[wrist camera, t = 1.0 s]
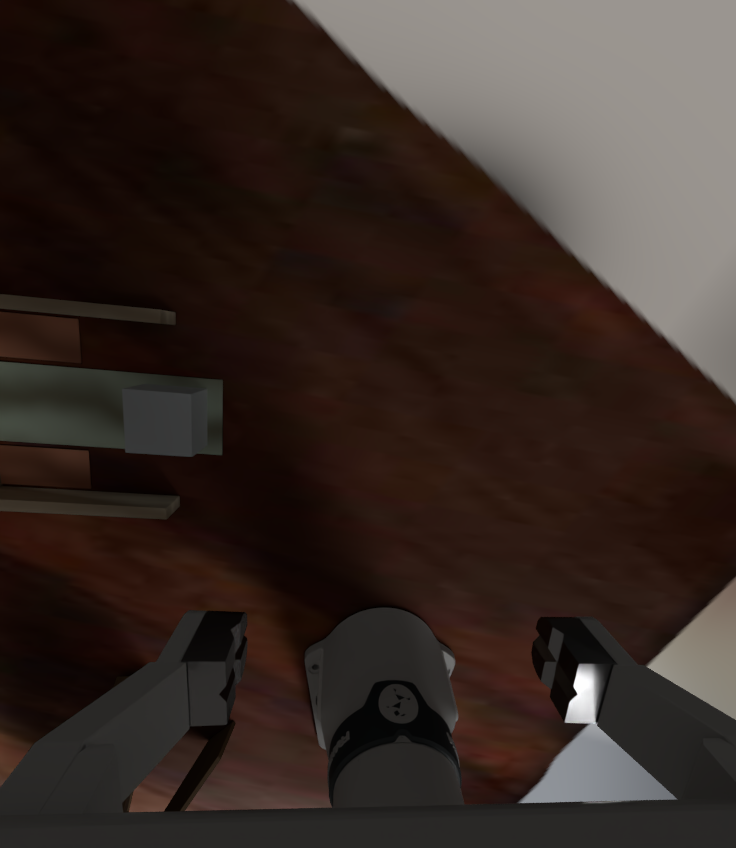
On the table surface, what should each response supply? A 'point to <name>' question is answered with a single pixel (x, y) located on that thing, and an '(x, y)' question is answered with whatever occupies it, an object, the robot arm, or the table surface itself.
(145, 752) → the robot arm
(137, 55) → the table surface
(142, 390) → the block
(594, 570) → the table surface
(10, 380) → the grey-green e-shaped frame
